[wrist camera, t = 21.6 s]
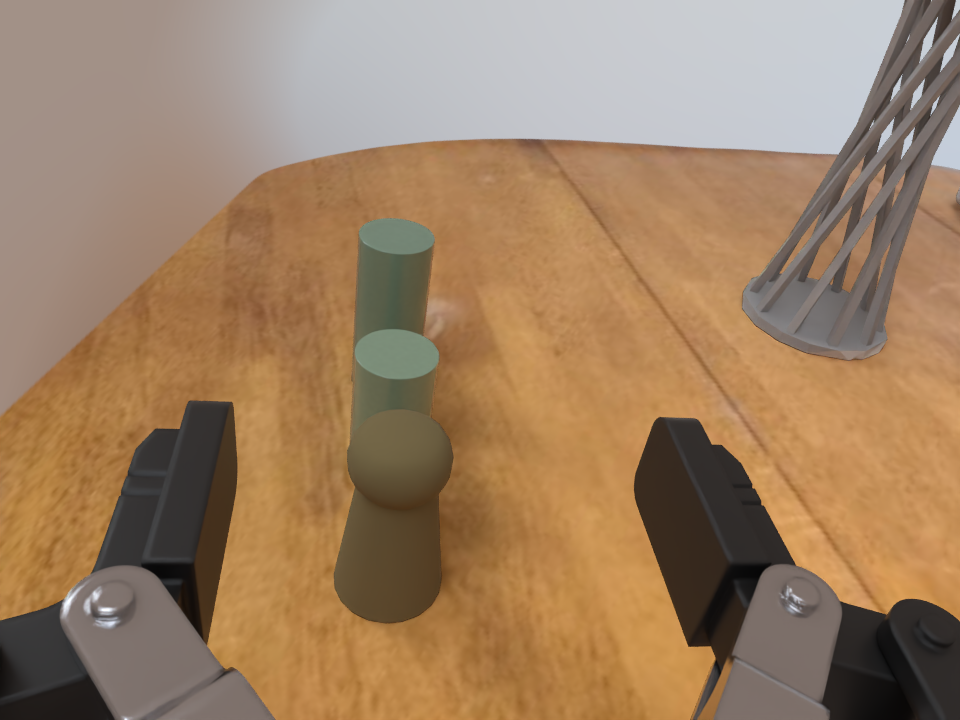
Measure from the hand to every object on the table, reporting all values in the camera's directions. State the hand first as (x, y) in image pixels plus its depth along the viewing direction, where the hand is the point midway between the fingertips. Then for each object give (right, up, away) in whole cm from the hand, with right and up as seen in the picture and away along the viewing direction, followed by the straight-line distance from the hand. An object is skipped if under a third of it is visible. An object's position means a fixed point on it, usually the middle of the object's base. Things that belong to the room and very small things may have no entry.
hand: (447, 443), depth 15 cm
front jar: (-5, -5, +36) cm, 37 cm away
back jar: (-6, 0, +43) cm, 44 cm away
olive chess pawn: (-5, -11, +29) cm, 31 cm away
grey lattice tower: (+33, +5, +60) cm, 68 cm away
